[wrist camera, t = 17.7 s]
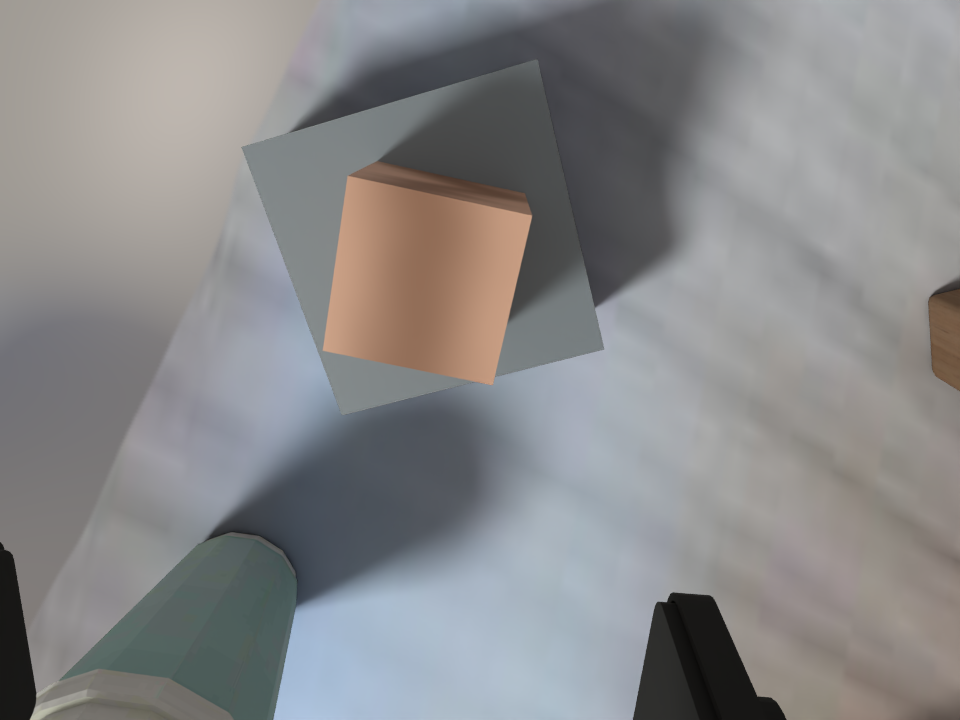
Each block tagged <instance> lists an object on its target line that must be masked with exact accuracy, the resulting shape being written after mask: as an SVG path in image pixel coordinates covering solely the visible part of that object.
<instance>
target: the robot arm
mask: <svg viewBox="0 0 960 720" xmlns="http://www.w3.org/2000/svg"><path fill="white" fill-rule="evenodd" d="M35 705H36V688H35V682H34V676H33V670H32V664H31V658H30V652H29V646H28V641H27V635H26V629H25V623H24V617H23V611H22V605H21V599H20V593H19V587H18V581H17V575H16V569H15V563H14V559H13V555H12V554H11V553H10V552H9V551H6V550H4V547H3V545H2V544H1V542H0V720H30V718H31V716H32V714H33V712H34V708H35ZM633 720H786V718H785V716H784V713H783V712H782V710H781V708H780V707H779V705H778V703H777V702H776V701H774V700H773V699H772V698H769V697H757V695H756V692H755V690H754V688H753V685H752V683H751V681H750V679H749V676H748V674H747V672H746V670H745V667H744V665H743V663H742V661H741V658H740V656H739V654H738V652H737V649H736V647H735V645H734V643H733V640H732V638H731V636H730V633H729V631H728V629H727V627H726V624H725V622H724V620H723V618H722V615H721V613H720V611H719V609H718V606H717V604H716V602H715V600H714V599H713V597H711V596H710V595H697V594H685V593H671V594H670V596H669V598H668V601H667V602H657V603H656V605H655V609H654V613H653V618H652V623H651V629H650V634H649V639H648V644H647V649H646V655H645V660H644V665H643V670H642V675H641V681H640V686H639V691H638V696H637V701H636V707H635V712H634V717H633Z"/></svg>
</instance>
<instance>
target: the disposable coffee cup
mask: <svg viewBox="0 0 960 720" xmlns="http://www.w3.org/2000/svg"><path fill="white" fill-rule="evenodd" d="M296 597H297V579H296V572H295V570H294V569H293V567H292V565H291V564H290V562H289V560H288V559H287V557H286V555H285V553H284V552H283V551H282V550H281V549H279V548H278V547H276V546H275V545H273V544H271V543H270V542H268V541H267V540H265V539H263V538H262V537H260V536H257V535H250V534H242V533H235V532H230V533H227V534H224V535H221V536H218V537H215V538H212V539H210V540H207V541H206V542H204V543H201V544H198V545H197V546H196V547H195V548H194V549H193V550H192V551H191V552H190V553H189V554H188V555H187V556H186V557H185V558H184V559H183V560H181V561H180V562H179V563H178V564H177V565H176V566H175V567H174V568H173V569H172V570H171V571H170V572H169V573H168V574H167V575H166V576H165V577H164V578H163V579H162V580H161V581H160V582H159V583H158V584H157V585H156V586H155V587H154V588H153V589H152V590H151V591H150V592H149V593H148V594H147V595H146V596H145V597H144V598H143V599H142V600H141V601H140V602H139V603H138V604H137V605H136V606H135V607H134V608H133V609H132V610H131V611H129V612H128V613H127V614H126V615H125V616H124V617H123V618H122V619H121V620H120V621H119V622H118V623H117V624H116V625H115V626H114V627H113V628H112V629H111V630H110V631H109V632H108V633H107V634H106V635H105V636H104V637H103V638H102V639H101V640H100V641H99V642H98V643H97V644H96V645H95V646H94V647H93V648H92V649H91V650H90V651H89V652H88V653H87V654H86V655H85V656H84V657H83V658H82V659H81V660H80V661H79V662H77V663H76V664H75V665H74V666H73V667H72V668H71V669H70V670H69V671H68V672H67V673H66V674H65V675H64V676H63V677H62V678H61V679H60V680H59V681H58V682H55V683H52V684H51V685H49V686H48V687H46V688H45V689H43V690H42V691H40V692H39V693H37V694H36V705H35V708H34V712H33V714H32V716H31V718H30V720H273V718H274V713H275V708H276V703H277V698H278V693H279V688H280V683H281V678H282V673H283V668H284V663H285V658H286V653H287V648H288V643H289V638H290V633H291V628H292V623H293V618H294V613H295V608H296Z"/></svg>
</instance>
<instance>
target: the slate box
mask: <svg viewBox="0 0 960 720" xmlns="http://www.w3.org/2000/svg"><path fill="white" fill-rule="evenodd" d="M242 150H243V152H244V155H245V158H246V160H247V163H248V166H249V168H250V171H251V174H252V176H253V179H254V182H255V184H256V187H257V190H258V192H259V195H260V198H261V200H262V203H263V206H264V208H265V211H266V214H267V216H268V219H269V222H270V224H271V227H272V230H273V232H274V235H275V238H276V240H277V243H278V246H279V248H280V251H281V254H282V256H283V259H284V262H285V265H286V267H287V270H288V273H289V275H290V278H291V281H292V283H293V286H294V289H295V291H296V294H297V297H298V299H299V302H300V305H301V307H302V310H303V313H304V315H305V318H306V321H307V323H308V326H309V329H310V331H311V334H312V337H313V339H314V342H315V345H316V347H317V350H318V353H319V355H320V358H321V361H322V363H323V366H324V369H325V371H326V374H327V377H328V379H329V382H330V385H331V387H332V390H333V393H334V395H335V398H336V401H337V403H338V406H339V409H340V411H341V414H342V415H346V414H350V413H354V412H358V411H362V410H366V409H370V408H374V407H377V406H381V405H385V404H389V403H393V402H397V401H401V400H405V399H409V398H413V397H417V396H421V395H425V394H429V393H433V392H437V391H441V390H445V389H449V388H453V387H457V386H461V385H465V384H469V383H473V382H474V381H470V380H465V379H460V378H455V377H450V376H445V375H440V374H435V373H430V372H425V371H420V370H415V369H410V368H405V367H400V366H395V365H391V364H386V363H381V362H376V361H371V360H366V359H361V358H356V357H351V356H346V355H341V354H336V353H331V352H326V351H323V345H324V338H325V331H326V324H327V317H328V310H329V303H330V296H331V289H332V282H333V275H334V268H335V261H336V254H337V247H338V240H339V233H340V226H341V219H342V212H343V205H344V198H345V191H346V184H347V177H348V175H350V174H352V173H354V172H356V171H358V170H360V169H362V168H364V167H366V166H368V165H370V164H372V163H374V162H376V161H379V162H384V163H388V164H393V165H397V166H402V167H407V168H411V169H416V170H420V171H425V172H429V173H434V174H439V175H443V176H448V177H452V178H457V179H462V180H466V181H471V182H475V183H480V184H485V185H489V186H494V187H498V188H503V189H508V190H512V191H517V192H521V193H525V195H526V198H527V201H528V204H529V207H530V210H531V213H532V219H531V223H530V228H529V232H528V236H527V240H526V245H525V249H524V253H523V258H522V262H521V266H520V270H519V275H518V279H517V283H516V288H515V292H514V296H513V300H512V305H511V309H510V313H509V318H508V322H507V326H506V330H505V335H504V339H503V343H502V348H501V352H500V356H499V360H498V365H497V369H496V373H495V377H497V376H500V375H504V374H508V373H512V372H516V371H520V370H524V369H528V368H532V367H536V366H540V365H544V364H548V363H552V362H556V361H560V360H564V359H568V358H572V357H576V356H580V355H584V354H588V353H592V352H596V351H600V350H604V346H603V342H602V337H601V333H600V329H599V324H598V320H597V315H596V311H595V307H594V302H593V298H592V294H591V289H590V285H589V281H588V276H587V272H586V268H585V263H584V259H583V255H582V250H581V246H580V242H579V237H578V233H577V229H576V224H575V220H574V216H573V211H572V207H571V203H570V198H569V194H568V190H567V185H566V181H565V177H564V172H563V168H562V164H561V159H560V155H559V151H558V146H557V142H556V138H555V133H554V129H553V125H552V120H551V116H550V112H549V107H548V103H547V99H546V94H545V90H544V86H543V81H542V77H541V73H540V68H539V64H538V59H535V60H532V61H529V62H525V63H522V64H518V65H515V66H512V67H508V68H505V69H502V70H498V71H495V72H492V73H488V74H485V75H482V76H478V77H475V78H472V79H468V80H465V81H462V82H458V83H455V84H451V85H448V86H445V87H441V88H438V89H435V90H431V91H428V92H425V93H421V94H418V95H415V96H411V97H408V98H405V99H401V100H398V101H395V102H391V103H388V104H385V105H381V106H378V107H374V108H371V109H368V110H364V111H361V112H358V113H354V114H351V115H348V116H344V117H341V118H338V119H334V120H331V121H328V122H324V123H321V124H318V125H314V126H311V127H307V128H304V129H301V130H297V131H294V132H291V133H287V134H284V135H281V136H277V137H274V138H271V139H267V140H264V141H261V142H257V143H254V144H251V145H247V146H244V147H242Z"/></svg>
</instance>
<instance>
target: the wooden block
mask: <svg viewBox="0 0 960 720" xmlns="http://www.w3.org/2000/svg"><path fill="white" fill-rule="evenodd" d="M928 305H929V322H930V339H931V356H932V370H933V372H934V374H935V376H936V377H938V378H940V379H941V380H943V381H944V382H946V383H948V384H949V385H951V386H952V387H954V388H956V389H957V390H959V391H960V289H957V290H953V291H949V292H945V293H940V294H936V295H933V296H931V297H930V298H929V301H928Z"/></svg>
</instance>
